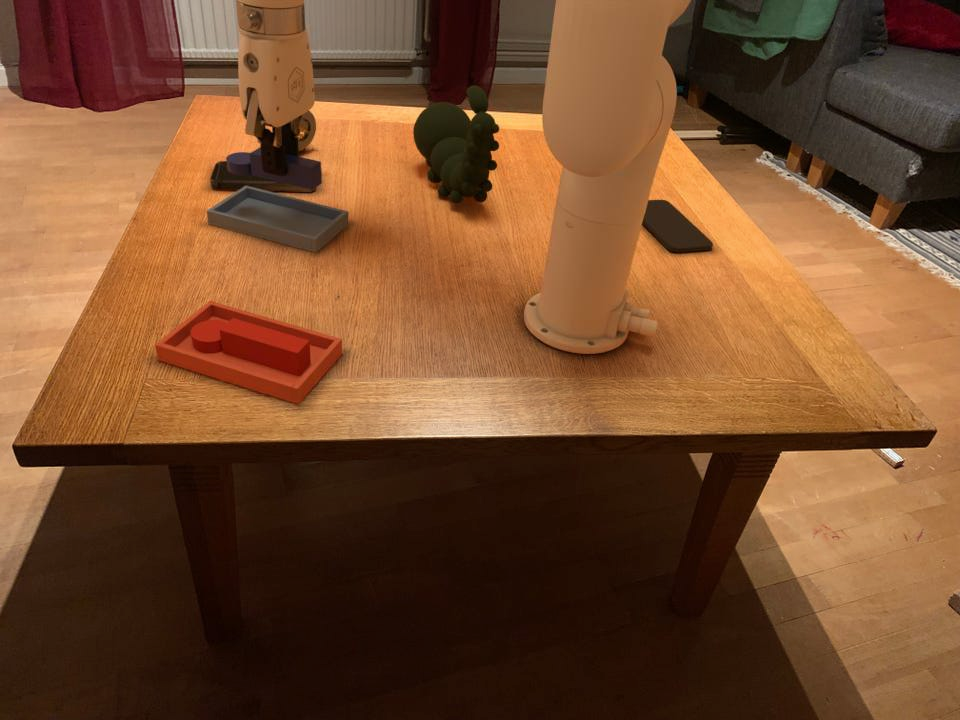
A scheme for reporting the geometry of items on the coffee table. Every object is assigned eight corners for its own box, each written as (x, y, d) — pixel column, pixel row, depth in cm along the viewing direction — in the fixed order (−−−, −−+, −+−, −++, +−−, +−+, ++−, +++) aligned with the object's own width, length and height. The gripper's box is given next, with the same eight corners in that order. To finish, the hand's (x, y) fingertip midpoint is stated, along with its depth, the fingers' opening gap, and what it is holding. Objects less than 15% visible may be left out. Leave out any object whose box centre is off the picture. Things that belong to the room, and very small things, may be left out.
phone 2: (671, 248, 104) (625, 201, 116) (670, 253, 105) (624, 205, 116) (716, 245, 107) (666, 199, 118) (714, 250, 107) (665, 203, 118)
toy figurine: (503, 226, 111) (452, 147, 127) (524, 104, 98) (464, 34, 115) (443, 231, 107) (399, 150, 124) (457, 106, 95) (406, 34, 112)
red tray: (342, 353, 79) (342, 338, 78) (298, 404, 72) (297, 389, 71) (212, 315, 83) (209, 300, 82) (157, 360, 76) (154, 344, 74)
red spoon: (314, 359, 77) (313, 336, 76) (295, 381, 74) (293, 357, 73) (207, 327, 80) (204, 304, 78) (184, 346, 77) (180, 323, 75)
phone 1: (216, 160, 112) (317, 164, 115) (217, 167, 113) (317, 170, 116) (209, 182, 106) (315, 185, 109) (210, 189, 107) (315, 192, 109)
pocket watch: (270, 138, 124) (265, 78, 118) (320, 144, 125) (318, 83, 119) (257, 157, 118) (251, 94, 112) (310, 162, 118) (307, 100, 112)
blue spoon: (325, 181, 97) (324, 159, 95) (309, 192, 94) (308, 170, 92) (238, 160, 100) (236, 138, 98) (221, 171, 97) (218, 149, 95)
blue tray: (348, 224, 103) (348, 211, 102) (316, 253, 96) (315, 239, 95) (247, 198, 106) (245, 185, 105) (208, 224, 99) (206, 210, 98)
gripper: (261, 39, 78) (273, 199, 89) (334, 11, 90) (336, 155, 101) (200, 26, 79) (219, 185, 91) (279, 0, 92) (288, 143, 103)
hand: (281, 168), depth 96 cm, fingers closed on blue spoon, 2 cm apart
